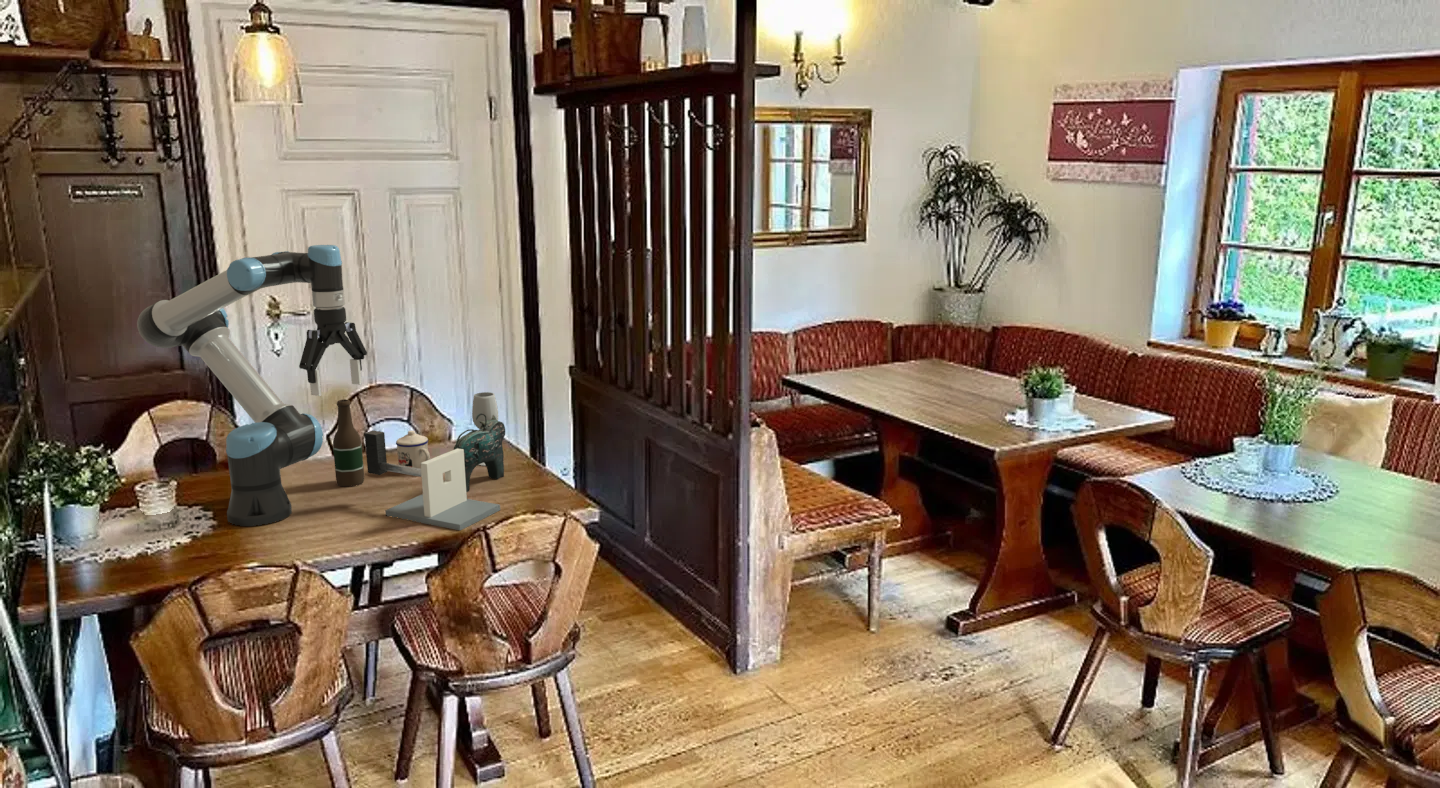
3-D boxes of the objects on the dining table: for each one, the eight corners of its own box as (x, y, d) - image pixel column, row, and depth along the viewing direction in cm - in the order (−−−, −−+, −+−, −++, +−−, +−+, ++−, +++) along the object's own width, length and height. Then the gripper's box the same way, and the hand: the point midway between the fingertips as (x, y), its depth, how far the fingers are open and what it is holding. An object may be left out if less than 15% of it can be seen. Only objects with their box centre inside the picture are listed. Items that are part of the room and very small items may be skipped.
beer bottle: (356, 488, 281) (349, 404, 275) (330, 486, 282) (322, 403, 277) (370, 479, 288) (363, 397, 283) (345, 477, 290) (337, 396, 284)
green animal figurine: (496, 472, 294) (492, 406, 290) (513, 476, 291) (509, 408, 287) (447, 492, 277) (443, 422, 273) (465, 496, 274) (461, 425, 270)
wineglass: (493, 457, 309) (489, 390, 304) (505, 462, 303) (501, 394, 298) (470, 461, 304) (466, 394, 299) (482, 467, 299) (478, 398, 294)
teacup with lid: (391, 470, 297) (388, 432, 294) (417, 462, 304) (414, 425, 301) (416, 478, 289) (413, 439, 287) (442, 470, 296) (440, 432, 294)
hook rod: (433, 484, 259) (430, 443, 256) (367, 473, 268) (364, 433, 266) (441, 481, 262) (438, 440, 259) (376, 469, 271) (372, 430, 268)
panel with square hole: (460, 530, 250) (456, 470, 246) (385, 515, 260) (380, 458, 256) (500, 510, 264) (497, 453, 260) (428, 497, 274) (424, 442, 270)
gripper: (300, 315, 241) (309, 401, 246) (376, 301, 263) (383, 381, 268) (278, 313, 244) (287, 398, 249) (355, 299, 266) (362, 378, 271)
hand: (337, 389), depth 259 cm, fingers open, 13 cm apart
